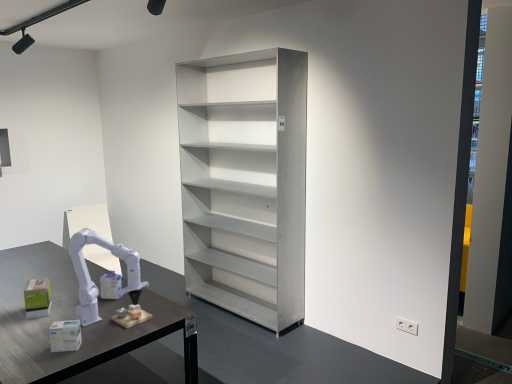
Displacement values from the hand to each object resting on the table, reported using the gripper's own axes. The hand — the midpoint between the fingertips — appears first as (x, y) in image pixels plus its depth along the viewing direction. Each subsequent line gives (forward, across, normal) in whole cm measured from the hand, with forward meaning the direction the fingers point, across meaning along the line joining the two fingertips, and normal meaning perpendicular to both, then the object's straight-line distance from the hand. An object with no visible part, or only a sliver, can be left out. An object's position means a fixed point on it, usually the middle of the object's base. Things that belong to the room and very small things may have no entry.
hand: (135, 304), depth 199 cm
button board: (+8, 0, +3) cm, 9 cm away
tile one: (+6, 0, 0) cm, 6 cm away
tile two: (+6, +4, +6) cm, 9 cm away
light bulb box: (+8, -33, 0) cm, 34 cm away
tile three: (+6, -3, +6) cm, 9 cm away
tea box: (+8, -26, +44) cm, 52 cm away
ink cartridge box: (+8, +7, +34) cm, 35 cm away
